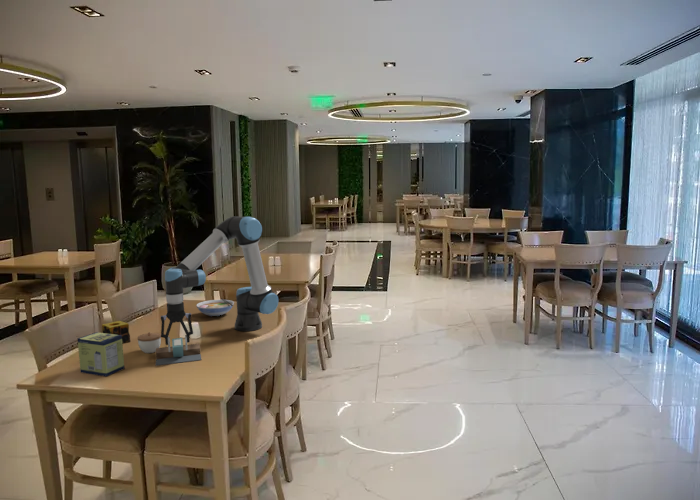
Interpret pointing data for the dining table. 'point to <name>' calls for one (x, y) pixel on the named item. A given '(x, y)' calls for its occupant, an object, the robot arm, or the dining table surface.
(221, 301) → the ramen bowl
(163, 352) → the ledge
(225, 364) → the dining table surface
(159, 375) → the dining table surface
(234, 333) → the dining table surface
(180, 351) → the block
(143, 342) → the lidded jar
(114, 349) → the protein box
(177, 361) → the mat
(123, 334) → the black yellow box
